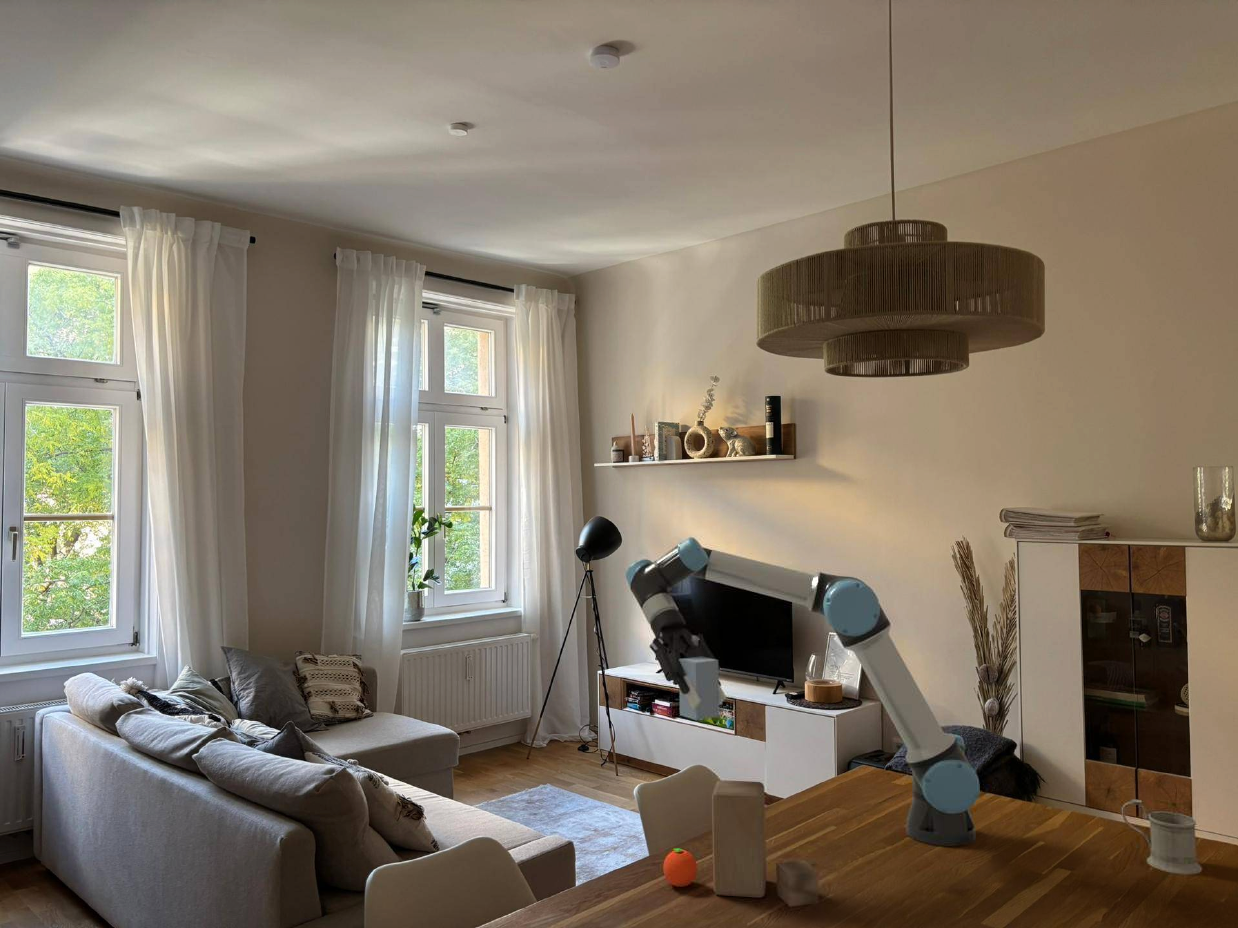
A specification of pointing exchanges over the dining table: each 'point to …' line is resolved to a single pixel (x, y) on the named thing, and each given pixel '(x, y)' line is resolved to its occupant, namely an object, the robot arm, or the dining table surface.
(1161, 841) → the mug
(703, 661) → the slate block
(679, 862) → the clementine
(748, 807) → the block
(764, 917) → the dining table surface
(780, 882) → the walnut cube
